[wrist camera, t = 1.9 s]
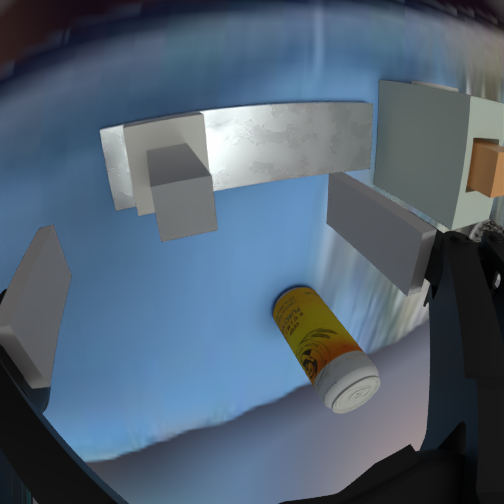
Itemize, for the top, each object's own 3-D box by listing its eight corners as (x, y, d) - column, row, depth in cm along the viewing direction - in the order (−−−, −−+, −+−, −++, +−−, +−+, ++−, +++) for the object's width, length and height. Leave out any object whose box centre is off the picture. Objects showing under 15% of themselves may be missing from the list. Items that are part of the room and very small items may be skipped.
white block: (373, 184, 35) (451, 230, 25) (378, 76, 28) (470, 91, 18) (415, 179, 36) (488, 219, 27) (422, 82, 30) (507, 101, 20)
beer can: (275, 285, 37) (341, 384, 25) (320, 281, 39) (393, 367, 27) (266, 325, 40) (321, 422, 28) (309, 319, 42) (370, 405, 30)
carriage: (138, 206, 26) (142, 280, 17) (123, 125, 22) (112, 153, 13) (207, 193, 27) (247, 256, 18) (199, 111, 24) (239, 131, 15)
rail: (116, 204, 27) (115, 211, 26) (101, 127, 23) (99, 130, 22) (361, 164, 33) (369, 168, 32) (364, 101, 29) (373, 103, 28)
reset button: (449, 177, 25) (490, 198, 21) (454, 135, 23) (498, 152, 19) (471, 174, 26) (509, 193, 22) (476, 136, 24) (517, 152, 20)
